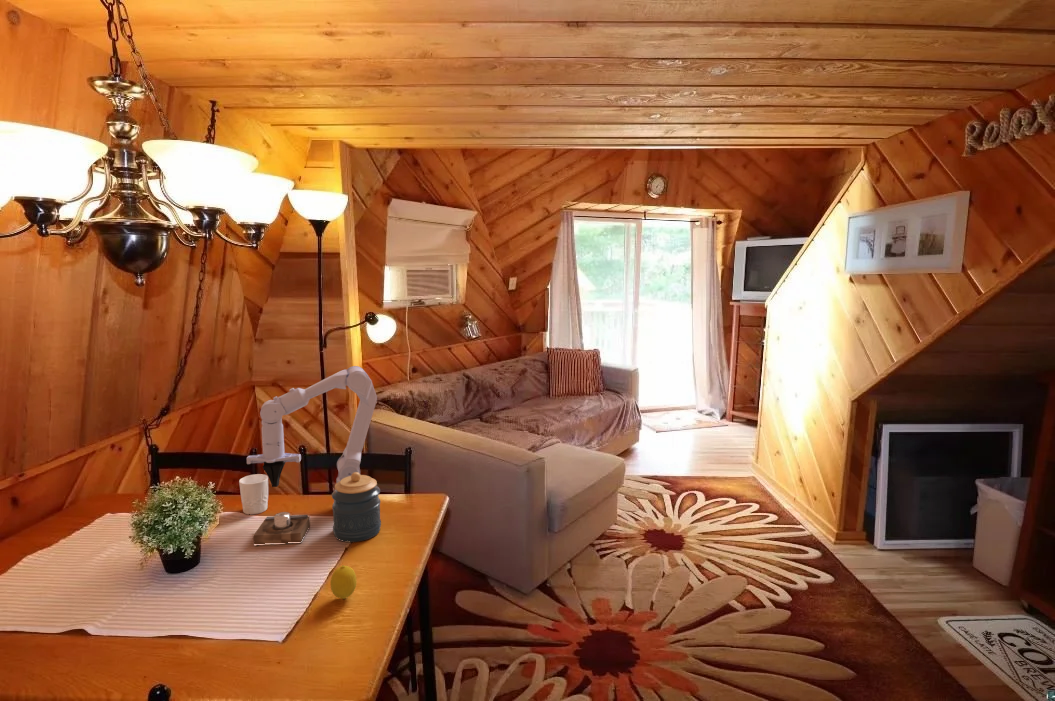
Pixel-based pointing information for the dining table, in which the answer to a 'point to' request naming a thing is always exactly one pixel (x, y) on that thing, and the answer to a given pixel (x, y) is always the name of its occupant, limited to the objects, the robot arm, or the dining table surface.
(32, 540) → the dining table surface
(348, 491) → the canister
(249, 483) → the white cup
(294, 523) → the block
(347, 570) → the lemon
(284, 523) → the bushing
